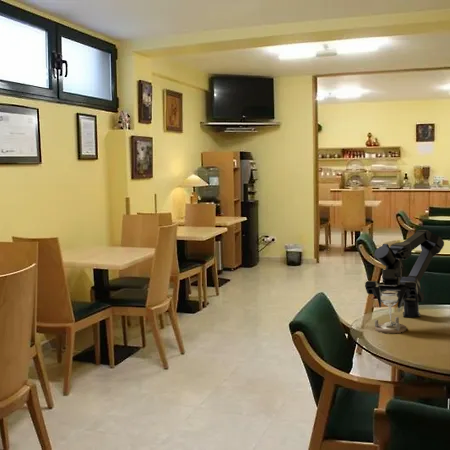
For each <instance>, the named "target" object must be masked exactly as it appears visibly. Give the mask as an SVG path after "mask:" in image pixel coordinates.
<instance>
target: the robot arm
mask: <svg viewBox="0 0 450 450" xmlns="http://www.w3.org/2000/svg"><path fill="white" fill-rule="evenodd" d="M419 246H420V249H421V251H420V253H419V255H418V257H417V259H416V261H415V263H414V264H413V267H412V268H411V270H410V273H409V274H408V276H402V275H403V274H402V273H403V271H402V270H403V269H404V266H403V264H402V261H401V260H404V261H405V260H408V259H409V257H410V256H412V254H413V253H412V252H413V251H414V250H415V249H416V248H418V247H419ZM444 246H445V240H444V239H443V238H442V236H439V235H438V234H435V233H432V232H431V231H429V230H427V229H419V230H417V231H416V232H415V233H413V235H411V236H409V237H408V238H406V239H405V240H403V241H402V242H401V241H400V242H396V243H393V244H391V245H389V243H382V245H381V246H379V247H378V248H376V249H375V251H374V257H375V258H376V259H377V260H378V261H379V263H380V264H381V265H382V266H385V269H384V268H383V269H382V270H381V271H382V272H381V273H382V274H381V278H382V283H383V284H380V283H378V282H377V281H376V280H367V281H365V282H364V284H365V285H364V287H365V290H366V293H367V294H368V295H373V296H374V297H376V299H377V301H378V306H379V308H382V302H381V299H380V296H381V293H380V292H381V291H387V290H393V291H398V292H399V293H398V296H399V301H398V302H397V309H400V308H401V306H402V305H403V312H402V317H403V318H421V313H420V308H419V303H423V302H424V300H425V299H424V298H425V296H424V293H423V292H422V291H421V289H422V288H421V283H420V282H421V281H422V278H423V277H424V274H425V273H426V270H428V267H429V266H430V265H429V264H430V263H431V261H432V259H433V257H435V256H437V255H438V254H439V253H440V252H441V250H443V249H444Z"/></svg>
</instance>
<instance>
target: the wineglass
mask: <svg viewBox="0 0 450 450" xmlns="http://www.w3.org/2000/svg"><path fill="white" fill-rule="evenodd" d="M380 293H381V296H380V299H381V304H383V305H384V306H387V307H388V309H389V310H388V311H389V320H390V321H387V322H384V324H385V325H389V326H393V325H396V322H395V321H392V308H393V306H395V305H397V304H398V302H399V296H398V293H399V292H398V291H396V290H381V291H380Z"/></svg>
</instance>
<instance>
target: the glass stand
mask: <svg viewBox="0 0 450 450" xmlns="http://www.w3.org/2000/svg"><path fill="white" fill-rule="evenodd" d="M394 320H395V321H394V322H396V325H393V326H389V325H385V324H384V323H385V322H384V323H379V319H374V329H375V331H376V332H377V331H378V332H377V333H380V332H382V333H381V334H387V333H392V334H391V335H393V333H397V334H402V333H405V332H406V331H407V326H406V325H405V324H403V323H400V321H399V320H400V319H399V316H395V318H394ZM404 331H405V332H404ZM401 332H402V333H401Z"/></svg>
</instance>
